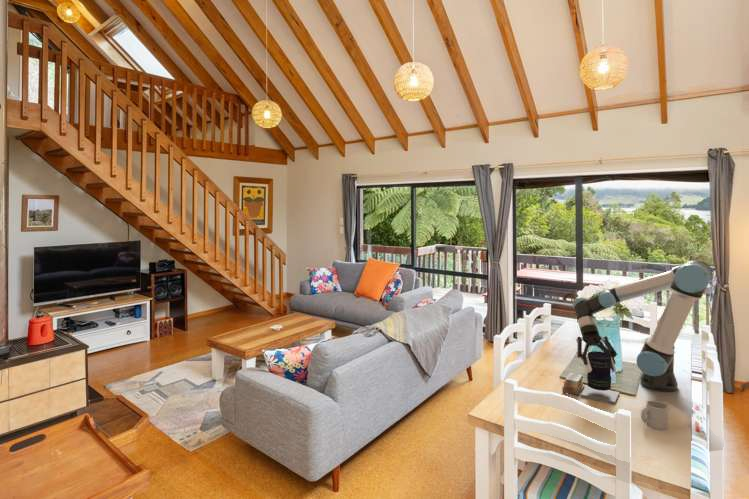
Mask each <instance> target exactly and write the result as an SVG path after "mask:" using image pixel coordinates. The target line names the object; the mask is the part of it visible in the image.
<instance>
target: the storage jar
mask: <svg viewBox="0 0 749 499" xmlns="http://www.w3.org/2000/svg"><path fill="white" fill-rule="evenodd" d="M587 357H588V358H589V362H590V365H591V368H592V371H591V372H588V371H587V375H586V379H587V386H589V387H590V388H592V389H595V390H602V391H605V390H611V389H612V386H611V384H612V376H611V372H612V370H611V367H612V366H611V364H612V362H611V355H610V354H608V353H604V352H603V351H597V350H596V351H594V350H593V351H589V352H587Z"/></svg>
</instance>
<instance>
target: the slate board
mask: <svg viewBox="0 0 749 499" xmlns="http://www.w3.org/2000/svg"><path fill="white" fill-rule="evenodd" d="M619 396H620V391H617V390H616V391H614V390H611V389H610V390H605V391H602V390H595V389H592V388H590V387H589V386H588V385H585V386H584V389H583V390H582V392H581V393H580V398H585V399H589V400H593V401H598V402H602V403H605V404H611V405H616V402H617V401H618V398H619Z"/></svg>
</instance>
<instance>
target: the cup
mask: <svg viewBox="0 0 749 499" xmlns="http://www.w3.org/2000/svg"><path fill="white" fill-rule="evenodd" d="M645 405H646V407H644V408H642V410H641V413H640V418H641V421H642V422H643V423H644V424H646V426H647V427H649V428H650V429H652V430H657V431H665V430H667V429H668V426H669V425H668V420H669V405H668V404H667V403H665V402H663V401H659V400H647V401H646V404H645Z"/></svg>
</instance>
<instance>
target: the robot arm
mask: <svg viewBox="0 0 749 499" xmlns="http://www.w3.org/2000/svg"><path fill="white" fill-rule="evenodd" d="M712 278H713V269H712V268H711V266H710V265H709V264H708V263H706V262H705V261H702V260H697V259H694V260H693V259H692V260H690V261H687V262H685V263H683V264H681V265H677V266H673V267H672V268H671V270H669V271H666V272H662V273H658V274H656V275H653V276H649V277H646V278H643V279H638V280H636V281H633V282H629V283H626V284H621V285H619V286H616V287H613V288H606V289H605V290H603V291H602V292H600V293H598V294H596V295H594V296H592V297H590V298H588V299H587V298H586V297H582V296H581V297H579V298H578V297H577V298H575V299H574V300H573V301H572V306H573V312H574V313H575V317H576V318H575V319H577V321H576V322H577V323H578V327H579V329H580V330H579V331H580V334H581V337H580V336H577V338H576V342H577V356H576V357H577V358H579V359H581V360H582V362H583V365H584V366H586V369H587V373H588V372H591V371H592V368H591V365H590V362H589V358H588V356H587V355H588V350H589V347H593V346H594V347H597V348H599V349H600V351H601V352H604V353H608V354H610V355H611V362H612V364H611V366H612V367H611V372H612V373H615V372H616V371H617V368H616V360H615V358H616V357H617V355H618V353H617V352H616V350H615V348H614V347H613V346H612V344H611V343H610V341H609V338H608V336H601V335H600V333H599V330H598V327H597V324H596V321H595V317H594V316H593V315H595V314H597V313H599V312H602V311H605V310H607V309H609V308H611V307H613V306H615V305H616V304H618V303H622V302H624V301H625V302H626V301H629V300H633V299H636V298H641V297H644V296H647V295H650V294H654V293H658V292H662V291H665V290H671V294H670V296H669V299H668V301H667V303H666V306H665V308H664V309H663V312H662V314H661V316H660V318H659V321H658V323H657V324H656V325H657V326H656V327H655V330H654V332H653V334H652V336H651V337H650V336H649V337H646V338H645V341H644V343H643V346H642V348H641V351H640V352H639V353H638V354H637V356H636V364H637V365H636V366H637V367H638V369H639V370H640V371H641V376H640V378H639V383H640V385H641V386H643V387H645V388H646V389H649V390H653V391H658V392H675V391H677V390H678V386H679V385H678V381H677V378H676V375H675V372H674V369H675V366H674V365H675V364H674V363H675V360H674V359H675V353H676V351H675V348H676V346H675V343H676V341H677V339H678V337H679V335H680V333H681V331H682V330H683V327H684V325H685V322H687V318H688V317H689V315H690V312H691V311H692V309H693V306H694V304H695V302H696V301H697V300H700V299H702V298H703V295H704V293H705V291H706V290H707V287H708V285H709V284H710V282H711V280H712ZM582 342H584V343H585V345H584V349H583V350H582V348H583V346H582V345H583V343H582ZM582 351H583V352H582Z"/></svg>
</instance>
